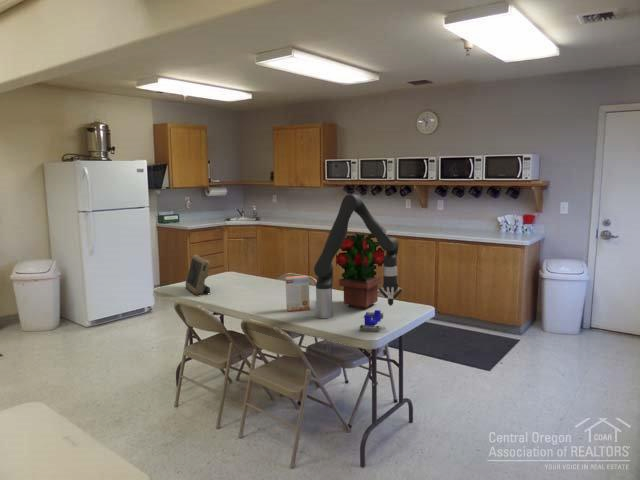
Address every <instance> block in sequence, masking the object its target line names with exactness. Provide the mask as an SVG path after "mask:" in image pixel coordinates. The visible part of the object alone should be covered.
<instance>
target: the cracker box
mask: <svg viewBox="0 0 640 480" xmlns="http://www.w3.org/2000/svg"><path fill="white" fill-rule="evenodd" d="M284 280H285V297H286V299H285V301H286V311H287V312H288V313H289V312H298V311H310V310H311V309H310V308H311V304H310V277H309V276H308V275H294V276H293V275H292V276H285V279H284Z"/></svg>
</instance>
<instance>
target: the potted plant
mask: <svg viewBox="0 0 640 480" xmlns="http://www.w3.org/2000/svg"><path fill="white" fill-rule="evenodd" d="M373 239H376V238H375V237H374V235H373V234H372V233H369V234H368V233H367V236H366V234H359V233H357V232H355V234H353V235H351V234H349V235H346V237H345V240H344V242H343V244H342V246H341V247H340V250H341V251H342V252H339V253H338V254H337V253H336V255H335V263H336V264H335V266H337V265H338V266H339V267H341V269H343V270H344V272H343V273H342V274H341V278H340V279H339V284H338V285H339V287H343V304H344V305H348V306H347V307H349V308H355V309H362V310H366V309H368V308H370V307H372V306H373V305H374V304H375V303H377V302H378V300H379V298H378V291H379V289H378V286H379V285H380V284H382V283H383V281H382V279H383V278H382V276H378V275H377V271H375V270H377V266H378V267H382V266H383V265H384V256H385V250H384V249H382V247H379V246H380V245H379V243H378V241H374V240H373Z"/></svg>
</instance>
